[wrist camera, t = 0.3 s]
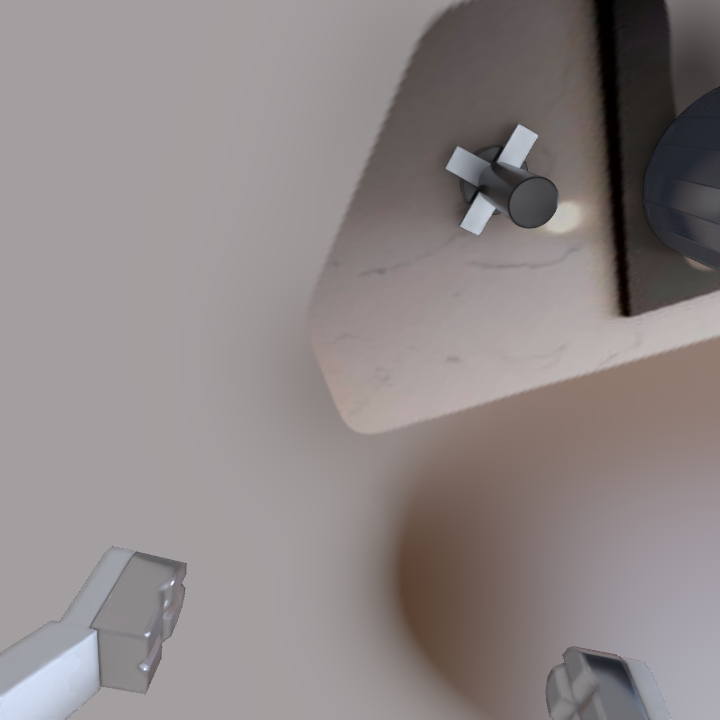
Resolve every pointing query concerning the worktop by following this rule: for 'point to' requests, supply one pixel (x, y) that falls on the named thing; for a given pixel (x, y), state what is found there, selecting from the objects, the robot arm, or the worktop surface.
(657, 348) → the worktop surface
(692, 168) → the processor bowl
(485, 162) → the blade unit
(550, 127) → the worktop surface
